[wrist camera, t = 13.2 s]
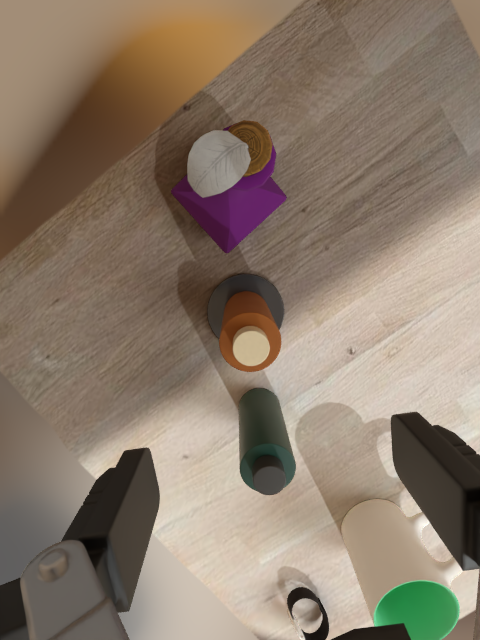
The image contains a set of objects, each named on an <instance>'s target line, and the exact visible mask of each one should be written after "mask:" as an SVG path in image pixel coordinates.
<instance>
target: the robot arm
mask: <svg viewBox="0 0 480 640" xmlns="http://www.w3.org/2000/svg"><path fill="white" fill-rule="evenodd" d="M391 435H392V454H393V462H394V466H395V469H396V472H397V474H398V476H399V478H400V480H401V481H402V483H403V484H404V485H405V487H406V488H407V490H408V491H409V493H410V494H411V496H412V497H413V499H414V500H415V501H416V503H417V504H418V506H419V507H420V509H421V510H422V512H423V513H424V515H425V516H426V518H427V519H428V520H429V522H430V523H431V525H432V526H433V528H434V529H435V531H436V532H437V534H438V535H439V537H440V538H441V539H442V541H443V542H444V544H445V545H446V547H447V548H448V550H449V551H450V553H451V554H452V556H453V557H454V558H455V560H456V561H457V563H458V564H459V566H460V567H461V569H462V570H463V571H465V570H473V569H480V455H479V454H476V452H475V451H474V450H473V449H472V448H471V447H470V446H469V445H466V443H465V442H464V441H463V440H462V439H461V438H460V437H458V436H457V435H456V434H455V433H454V432H451V431H449V430H447V429H445V428H443V427H441V426H439V425H434V426H432V425H431V424H430V423H429V422H428V421H427V420H426V419H424V418H423V417H422V416H421V415H420V414H419V413H418V412H410V413H403V414H396V415H392V417H391ZM159 501H160V494H159V486H158V482H157V477H156V473H155V469H154V464H153V460H152V455H151V452H150V449H149V448H139V449H132V450H126V451H124V452H123V454H122V456H121V458H120V460H119V462H118V464H117V465H116V467H115V468H109V469H108V470H107V471H106V472H105V473H104V474H102V475H101V476H100V477H99V478H98V479H97V480H96V482H95V483H94V485H93V487H92V489H91V490H90V492H89V495H88V496H87V497H86V499H85V501H84V502H83V506H81V508H80V509H79V511H78V513H77V515H76V516H75V518H74V520H73V522H72V523H71V525H70V527H69V528H68V530H67V532H66V534H65V535H64V537H63V539H62V541H61V542H59V543H56V544H54V545H52V546H50V547H48V548H46V549H45V550H43V551H42V552H40V553H39V554H38V555H37V556H36V557H35V558H34V559H33V560H32V561H31V562H30V563H29V564H28V565H27V567H26V568H25V570H24V571H23V574H22V576H21V578H18V579H16V580H13V581H11V582H8V583H6V584H3V585H0V640H129V637H128V635H127V633H126V631H125V629H124V626H123V624H122V622H121V619H120V617H119V615H118V612H127V611H129V610H130V607H131V603H132V599H133V596H134V593H135V589H136V586H137V582H138V579H139V575H140V572H141V568H142V565H143V561H144V558H145V554H146V551H147V547H148V544H149V540H150V537H151V533H152V530H153V526H154V523H155V519H156V516H157V512H158V509H159ZM331 640H411V638H410V636H409V634H408V632H407V629H406V627H405V625H404V623H400V624H392V625H384V626H376V627H368V628H359V629H353V630H351V631H349V632H347V633H345V634H342V635H340V636H338V637H336V638H334V639H331ZM473 640H480V570H479V582H478V593H477V604H476V615H475V627H474V638H473Z"/></svg>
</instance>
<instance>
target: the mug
mask: <svg viewBox="0 0 480 640" xmlns="http://www.w3.org/2000/svg"><path fill="white" fill-rule="evenodd" d="M428 524H430V522H429V520H428V519H427V518H426V516H425V515H424V513H423V512H421V513H418V514H416V515H414V516H412V517H406V515H405V514H404V512H403V511H402V509H401V508H400V507H399V506H397V505H396V504H394V503H393V502H390V501H387V500H383V499H371V500H367V501H363V502H361V503H359V504H357V505H356V506H354V507H353V508H352V509H350V510H349V512H348V513H347V514H346V516H345V517H344V519H343V522H342V526H341V533H342V537H343V540H344V542H345V545H346V548H347V551H348V554H349V556H350V559H351V562H352V565H353V567H354V570H355V573H356V576H357V579H358V581H359V584H360V587H361V590H362V592H363V595H364V598H365V601H366V603H367V606H368V609H369V612H370V615H371V617H372V620H373V623H374V626H375V627H376V626H384V625H392V624H400V623H404V625H405V627H406V629H407V632H408V634H409V636H410V638H411V640H441V639H443V638H444V637H445V636H446V635H448V634H449V633H450V632H451V630H452V629H453V628H454V627H455V625H456V623H457V621H458V618H459V603H458V600H457V598H456V596H455V595H454V593H453V591H452V589H451V581H452V580H453V579H454V578H455V577H456V576H458V575H459V574H460V573H462V572H463V570H462V569H461V567H460V566H459V564H458V563H457V561H456V560H455V558H454V557H452V558H451V559H450V560H448V561H446V562H439V561H437V560H435V559H434V558H433V557H432V556H431V555H430V553H429V552H428V550H427V548H426V547H425V545H424V543H423V540H422V535H421V532H422V529H423V527H424V526H426V525H428Z"/></svg>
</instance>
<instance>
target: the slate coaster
mask: <svg viewBox="0 0 480 640" xmlns="http://www.w3.org/2000/svg"><path fill="white" fill-rule="evenodd" d="M243 291H249V292H254V293H256V294H258V295H260V296H261V297H262V298H263V299H264V301H265V302H266V304H267V306H268V308H269V310H270V312H271V315H272V317H273V319H274V321H275V323H276V325H277V327H278V329H280V327H281V325H282V322H283V318H284V305H283V301H282V298H281V296H280V294H279V292H278V291H277V289H276V288H275V287H274V286H273V285H272V284H271V283H270V282H269V281H267V280H266V279H264V278H262V277H260V276H256V275H252V274H240V275H235V276H232V277H230V278H228V279H226V280H225V281H223V282H222V283H221V284H220V285H218V287H217V288H216V289H215V290H214V292H213V293H212V295H211V298H210V300H209V304H208V320H209V324H210V326H211V329H212V330H213V332H214V333H215V335H216V336H217V337H218V338H219V339H220V333H221V327H222V321H223V316H224V310H225V306H226V304H227V302H228V300H229V299H230V298H231V297H232V296H233V295H235V294H237V293H239V292H243Z"/></svg>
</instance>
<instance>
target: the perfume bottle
mask: <svg viewBox="0 0 480 640" xmlns="http://www.w3.org/2000/svg"><path fill="white" fill-rule="evenodd" d="M275 159H276V152H275V149H274V146H273V143H272V140H271V137H270V135H269V133H268V130H266V129H265V128H264V127H263V126H262V125H260V124H259V123H258V122H254V121H244V120H243V121H241V122H239V123H236V124H234V125H231V126H229V127H227V128H224V129H223V131H218V130H214V131H211V132H209V133H206V134H204V135H203V136H201V137H200V138H199V139H198V140H197V141H196V142H195V143H194V145H193V147H192V149H191V151H190V153H189V155H188V163H187V173H188V174H187V175H186V176H185V177H184V178H183V179H182V180H181V181H180V182H179V183H178V184H177V185H176V186H175V187H174V188H173V189H172V190H171V193H172V194H173V196H174V197H175V198H176V199H177V200H178V201H179V202H180V203H181V204H182V206H183V207H184V208H185V209H186V210H187V211H188V212H189V213H190V215H191V216H192V217H193V218H194V219H195V220H196V221H197V222H198V223H199V225H200V226H201V227H202V228H203V229H204V230H205V231H206V232H207V233H208V235H209V236H210V237H211V238H212V239H213V240H214V241H215V242H216V244H217V245H218V246H219V247H220V248H221V249H222V250H223V251H224V252H225V253H229V252H230V251H231V250H232V249H233V248H234V247H235V246H236V245H238V244H239V243H240V242H241V241H242V240H243V239H244V238H245V237H246V236H247V235H248V234H249V233H251V232H252V231H253V230H254V229H255V228H256V227H257V226H258V225H259V224H260V223H261V222H262V221H264V220H265V219H266V218H267V217H268V216H269V215H270V214H271V213H272V212H273V211H274V210H275V209H277V208H278V207H279V206H280V205H281V204H282V203H283V202H284V201H285V200H286V198H287V197H286V195H285V194H284V193H283V191H282V190H281V189H280V188H279V186H278V185H277V184H276V183H275V182H274V180H273V179H272V178H271V177H270V176H271V175H272V173H273V172H274V165H275Z"/></svg>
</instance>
